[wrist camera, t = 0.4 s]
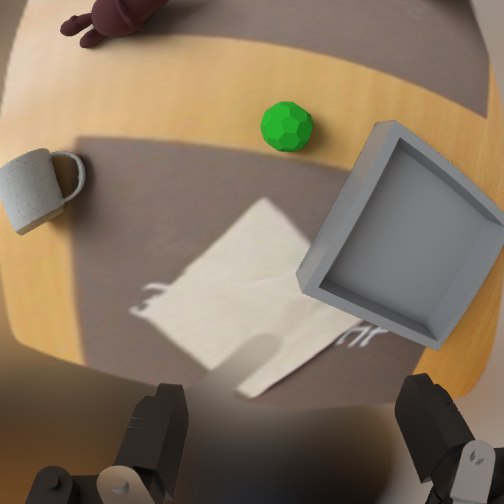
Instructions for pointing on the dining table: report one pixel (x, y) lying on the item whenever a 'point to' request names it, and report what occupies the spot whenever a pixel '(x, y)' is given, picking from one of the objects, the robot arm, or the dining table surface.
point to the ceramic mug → (34, 189)
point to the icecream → (111, 19)
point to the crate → (404, 240)
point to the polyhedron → (286, 127)
